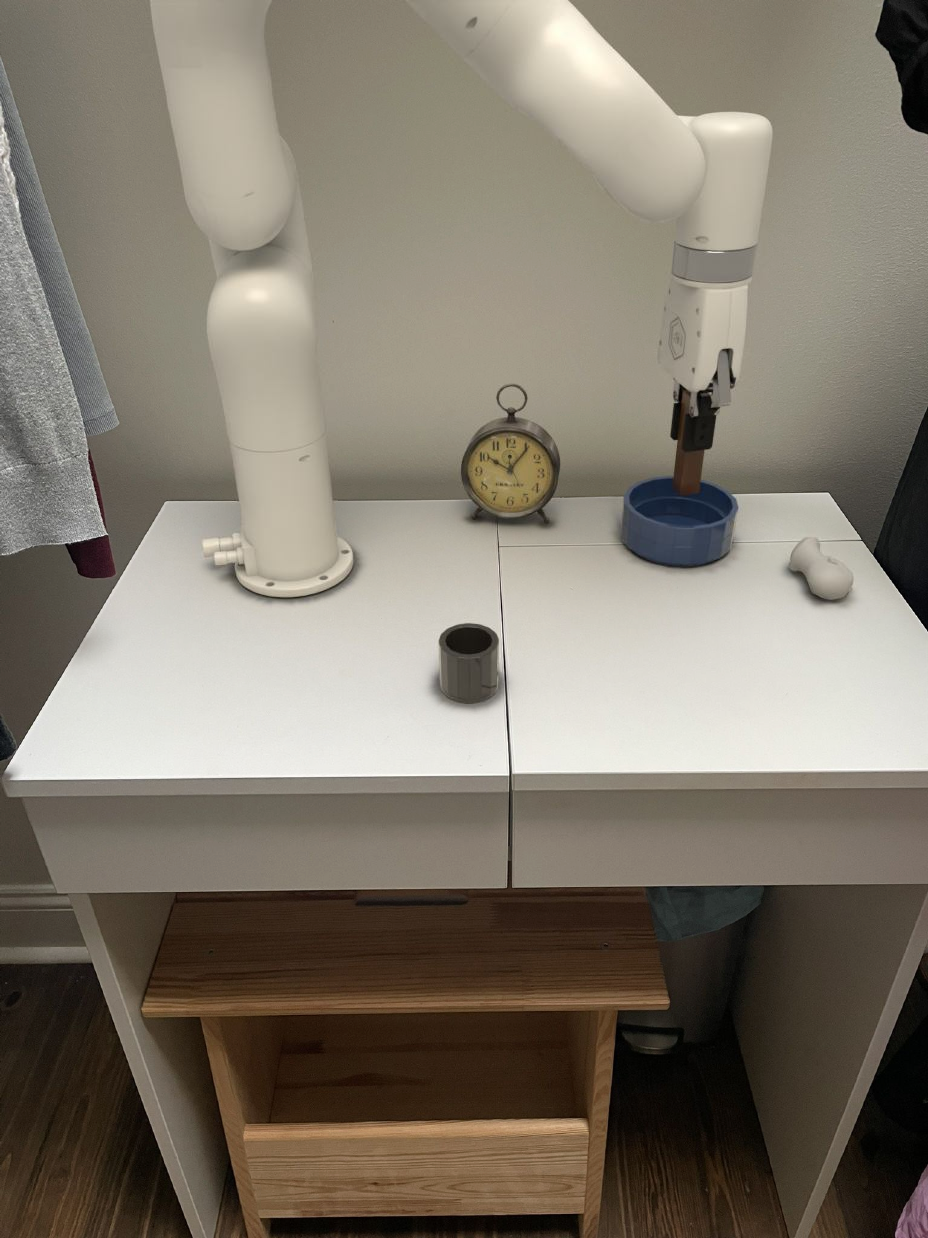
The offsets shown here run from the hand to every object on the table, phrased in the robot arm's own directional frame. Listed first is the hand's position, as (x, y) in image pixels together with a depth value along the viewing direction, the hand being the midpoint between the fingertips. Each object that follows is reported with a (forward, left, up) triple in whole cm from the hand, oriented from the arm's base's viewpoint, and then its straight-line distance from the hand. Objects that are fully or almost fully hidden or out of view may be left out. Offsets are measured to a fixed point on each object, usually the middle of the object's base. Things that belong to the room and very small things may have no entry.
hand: (690, 442), depth 99 cm
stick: (0, 0, -6) cm, 6 cm away
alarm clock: (-17, +10, -12) cm, 23 cm away
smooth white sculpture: (+11, -12, -12) cm, 20 cm away
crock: (-28, -20, -12) cm, 37 cm away
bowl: (0, 0, -12) cm, 12 cm away
